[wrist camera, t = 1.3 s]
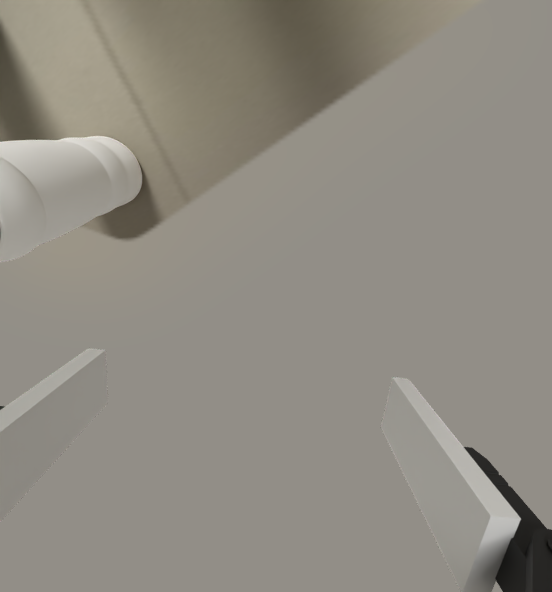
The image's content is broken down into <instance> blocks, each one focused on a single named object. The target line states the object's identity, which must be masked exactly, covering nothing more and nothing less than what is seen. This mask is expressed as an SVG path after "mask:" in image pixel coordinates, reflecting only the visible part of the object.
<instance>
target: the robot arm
mask: <svg viewBox="0 0 552 592" xmlns="http://www.w3.org/2000/svg"><path fill="white" fill-rule="evenodd" d="M107 404H108V390H107V370H106V350H101V349H91V348H88V349H87V350H85V351H84V352H83V353H81V354H80V355H78V356H77V357H75V358H74V359H72V360H71V361H70V362H68V363H67V364H66V365H64V366H62V367H61V368H60V369H58V370H57V371H55V372H54V373H53V374H51V375H50V376H48V377H47V378H46V379H44V380H43V381H41V382H40V383H38V384H37V385H36V386H34V387H33V388H31V389H30V390H28V391H27V392H25V393H24V394H23V395H21V396H20V397H18V398H17V399H15V400H14V401H13V402H11V403H10V404H8V405H7V406H5V407H3V406H0V522H1V521H2V520H3V519H4V517H5V516H6V515H7V514H8V513H9V512H10V511H11V510H12V509H13V508H14V507H15V505H16V504H17V503H18V502H19V501H20V500H21V499H22V498H23V496H24V495H25V494H26V493H27V492H28V491H29V490H30V489H31V488H32V487H33V485H34V484H35V483H36V482H37V481H38V480H39V479H40V478H41V477H42V476H43V474H44V473H45V472H46V471H47V470H48V469H49V468H50V467H51V465H52V464H53V463H54V462H55V461H56V460H57V459H58V458H59V457H60V456H61V455H62V453H63V452H64V451H65V450H66V449H67V448H68V447H69V446H70V445H71V443H72V442H73V441H74V440H75V439H76V438H77V437H78V436H79V435H80V433H81V432H82V431H83V430H84V429H85V428H86V427H87V426H88V425H89V423H90V422H91V421H92V420H93V419H94V418H95V417H96V416H97V415H98V414H99V412H100V411H101V410H102V409H103V408H104V407H105V406H106V405H107ZM381 430H382V432H383V434H384V436H385V438H386V440H387V442H388V444H389V446H390V448H391V450H392V452H393V454H394V456H395V458H396V460H397V463H398V465H399V466H400V468H401V471H402V473H403V475H404V477H405V479H406V481H407V483H408V485H409V487H410V489H411V491H412V493H413V495H414V497H415V499H416V502H417V504H418V505H419V507H420V510H421V511H422V513H423V516H424V518H425V520H426V522H427V524H428V526H429V528H430V530H431V532H432V534H433V536H434V538H435V540H436V543H437V545H438V547H439V549H440V551H441V553H442V555H443V557H444V559H445V561H446V563H447V565H448V567H449V569H450V571H451V573H452V575H453V578H454V580H455V581H456V584H457V586H458V587H459V590H460V592H491V591H492V589H493V587H494V584H495V581H497V583H498V584H499V586H500V588H501V589H502V591H503V592H552V530H549V529H547V528H546V527H545V526H544V525H543V524H542V523H541V521H540V520H539V519H538V518H537V517H536V515H535V514H534V513H533V512H532V511H531V510H530V508H528V506H527V505H526V504H525V503H524V502H523V500H522V499H521V498H520V497H519V496H518V495H517V494H516V492H515V491H514V490H513V489H512V488H511V487H509V486H508V483H507V482H506V481H505V479H504V478H503V477H502V476H501V475H499V473H498V471H497V470H496V469H495V468H494V467H493V466H492V464H491V463H490V462H489V461H488V460H487V459H486V458H485V457H483V456H482V455H481V454H479V453H478V452H477V451H475V450H474V449H473V448H469V447H463V446H462V445H461V444H460V442H459V441H458V440H457V439H456V437H455V436H454V435H453V434H452V432H451V431H450V430H449V429H448V427H447V426H446V425H445V424H444V422H443V421H442V420H441V419H440V418H439V416H438V415H437V414H436V412H435V411H434V410H433V409H432V407H430V405H429V404H428V403H427V401H426V400H425V399H424V398H423V396H422V395H421V394H420V393H419V391H418V390H417V389H416V388H415V386H414V385H413V384H412V383H411V382H410V380H409V379H406V378H396V377H392V380H391V384H390V388H389V393H388V398H387V402H386V406H385V410H384V415H383V419H382V424H381Z"/></svg>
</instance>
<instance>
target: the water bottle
mask: <svg viewBox="0 0 552 592" xmlns="http://www.w3.org/2000/svg"><path fill="white" fill-rule="evenodd" d="M141 186H142V172H141V168H140V165H139V163H138V161H137V159H136V157H135V156H134V154H133V153H132V152H131V151H130V150H129V149H128V148H127V147H126V146H125V145H124V144H122V143H121V142H119V141H117V140H115V139H112V138H110V137H105V136H92V137H85V138H65V139H60V140H18V141H4V142H0V262H5V261H10V260H14V259H17V258H20V257H22V256H24V255H26V254H28V253H29V252H30V251H32V250H33V249H34V248H35V247H36V246H38V245H40V244H44V243H46V242H48V241H51V240H54V239H56V238H58V237H60V236H62V235H65V234H67V233H69V232H71V231H73V230H74V229H77V228H78V227H80V226H82V225H84V224H86V223H87V222H89V221H91V220H92V219H94V218H95V217H97V216H100V215H103V214H106V213H108V212H110V211H112V210H113V209H115V208H116V207H119V206H122V205H124V204H126V203H128V202H130V201H131V200H133V199H134V198H135V197H136V196H137V195H138V193H139V191H140V189H141Z"/></svg>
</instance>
